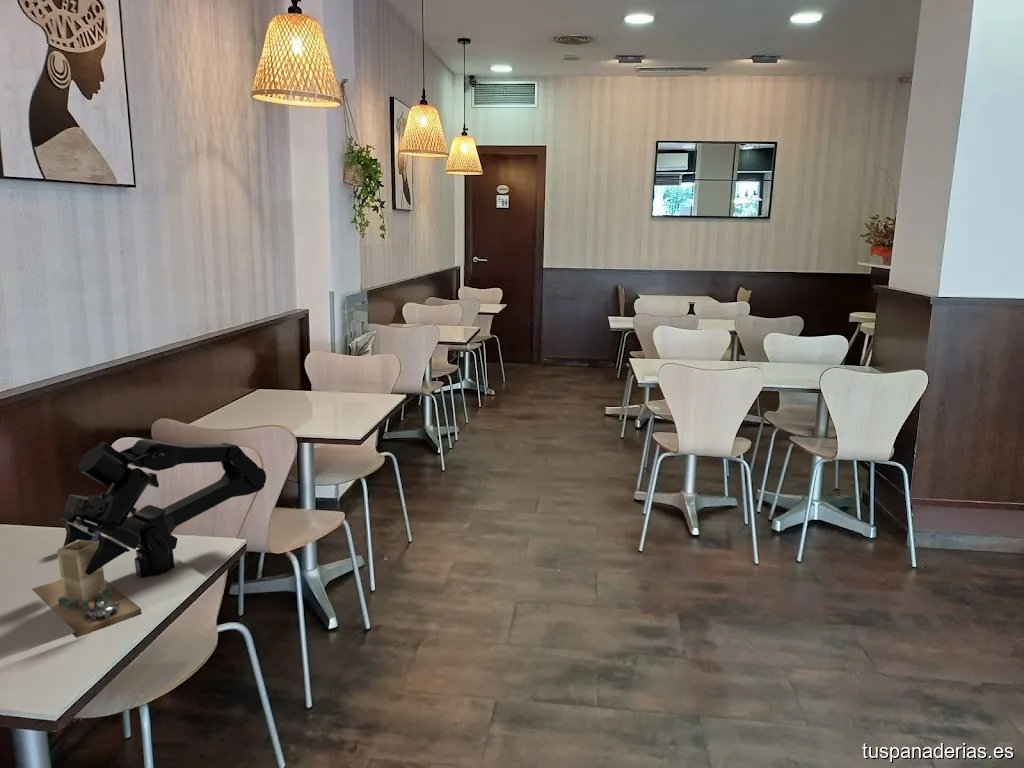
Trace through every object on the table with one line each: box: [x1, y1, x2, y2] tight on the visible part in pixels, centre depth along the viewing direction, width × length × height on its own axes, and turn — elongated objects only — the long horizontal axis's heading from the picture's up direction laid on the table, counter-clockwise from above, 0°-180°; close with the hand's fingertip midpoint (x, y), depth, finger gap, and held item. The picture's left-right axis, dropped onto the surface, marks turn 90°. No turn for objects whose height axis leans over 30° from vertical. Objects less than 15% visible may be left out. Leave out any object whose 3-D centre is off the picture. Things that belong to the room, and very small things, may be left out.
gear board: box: [32, 578, 142, 639], centre depth 148 cm, size 11×25×1 cm, turn 47°
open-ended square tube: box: [56, 540, 112, 610], centre depth 146 cm, size 9×9×11 cm
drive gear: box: [83, 600, 119, 621], centre depth 141 cm, size 6×6×3 cm
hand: (73, 568), depth 145 cm, fingers open, 9 cm apart
